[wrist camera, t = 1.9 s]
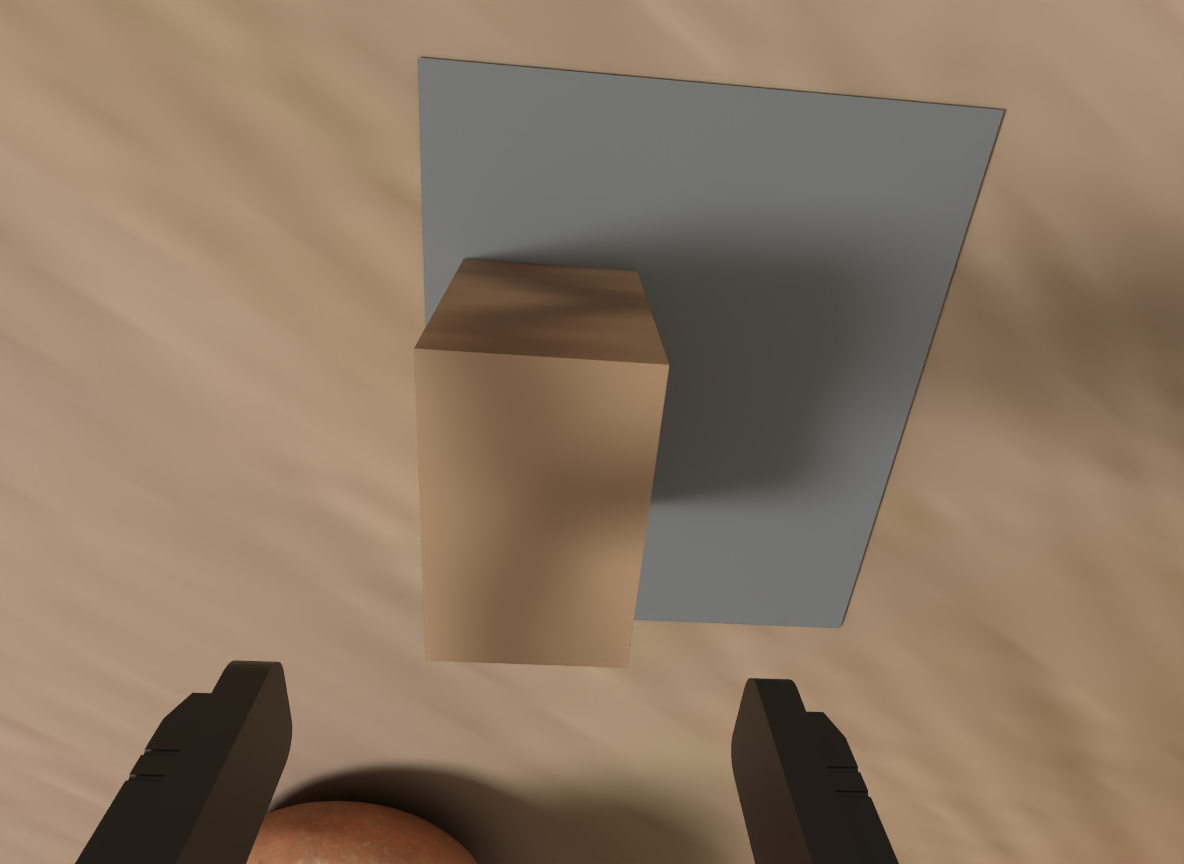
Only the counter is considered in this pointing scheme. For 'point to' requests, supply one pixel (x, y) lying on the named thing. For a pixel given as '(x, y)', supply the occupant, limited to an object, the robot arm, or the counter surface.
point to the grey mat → (727, 293)
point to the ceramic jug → (352, 837)
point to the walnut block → (536, 462)
